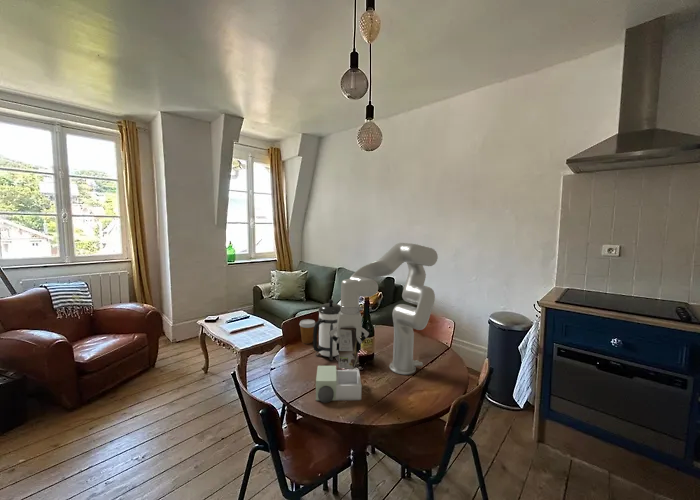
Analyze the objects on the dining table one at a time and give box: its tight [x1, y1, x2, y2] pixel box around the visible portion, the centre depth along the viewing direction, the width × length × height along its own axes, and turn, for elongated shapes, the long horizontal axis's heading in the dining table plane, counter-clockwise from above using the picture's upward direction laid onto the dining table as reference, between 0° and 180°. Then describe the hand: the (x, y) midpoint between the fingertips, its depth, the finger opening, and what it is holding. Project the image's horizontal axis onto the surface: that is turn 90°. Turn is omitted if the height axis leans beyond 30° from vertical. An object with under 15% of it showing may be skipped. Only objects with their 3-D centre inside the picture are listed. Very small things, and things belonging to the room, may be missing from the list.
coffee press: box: [312, 299, 341, 362], centre depth 160 cm, size 17×16×30 cm
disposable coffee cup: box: [298, 318, 316, 344], centre depth 180 cm, size 10×10×12 cm
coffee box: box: [338, 328, 359, 370], centre depth 126 cm, size 9×6×16 cm
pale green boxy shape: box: [315, 365, 362, 404], centre depth 128 cm, size 18×16×8 cm
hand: (348, 351), depth 127 cm, fingers closed on coffee box, 7 cm apart
